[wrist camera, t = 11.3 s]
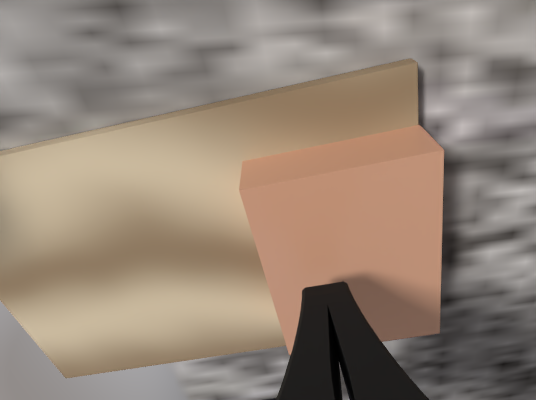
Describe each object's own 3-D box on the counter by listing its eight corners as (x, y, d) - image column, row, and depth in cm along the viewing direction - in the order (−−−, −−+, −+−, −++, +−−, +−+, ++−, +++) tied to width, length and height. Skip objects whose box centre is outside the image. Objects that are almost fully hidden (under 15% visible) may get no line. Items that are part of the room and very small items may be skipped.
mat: (417, 315, 18) (421, 325, 18) (70, 368, 20) (65, 378, 19) (411, 58, 12) (417, 62, 11) (-89, 171, 14) (-102, 178, 13)
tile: (287, 316, 17) (421, 295, 16) (289, 355, 15) (439, 333, 15) (242, 161, 13) (419, 124, 12) (239, 190, 11) (443, 149, 11)
